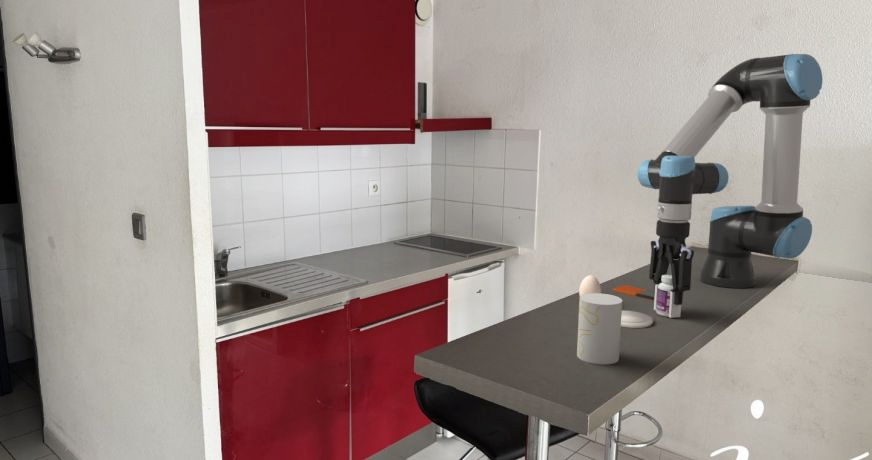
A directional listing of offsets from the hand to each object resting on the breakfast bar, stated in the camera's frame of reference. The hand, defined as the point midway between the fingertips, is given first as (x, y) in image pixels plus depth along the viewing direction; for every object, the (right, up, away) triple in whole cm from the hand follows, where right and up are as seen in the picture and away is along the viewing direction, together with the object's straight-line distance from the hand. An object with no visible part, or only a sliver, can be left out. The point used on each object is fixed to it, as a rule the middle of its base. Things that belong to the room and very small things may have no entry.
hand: (666, 312), depth 148 cm
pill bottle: (0, -1, 0) cm, 1 cm away
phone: (0, +2, +19) cm, 19 cm away
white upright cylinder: (-25, -5, -28) cm, 37 cm away
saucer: (-11, -1, -5) cm, 12 cm away
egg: (-17, +1, +8) cm, 19 cm away
